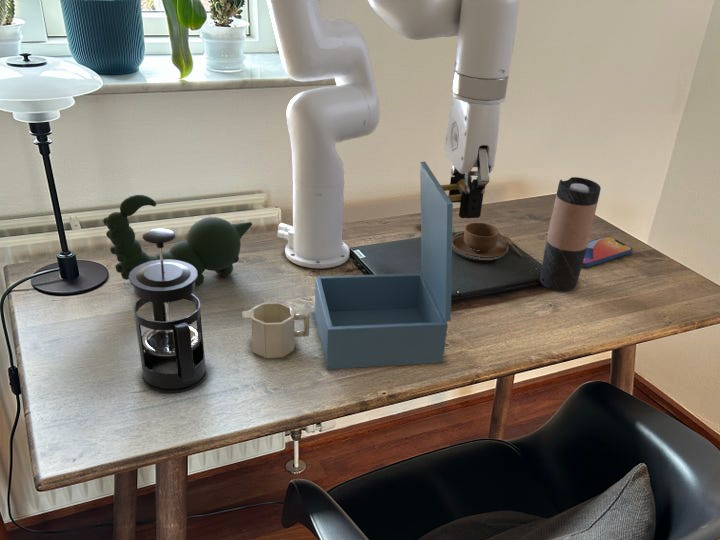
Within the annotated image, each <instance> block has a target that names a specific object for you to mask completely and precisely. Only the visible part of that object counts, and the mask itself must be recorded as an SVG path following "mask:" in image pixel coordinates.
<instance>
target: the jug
mask: <svg viewBox="0 0 720 540" xmlns="http://www.w3.org/2000/svg"><path fill="white" fill-rule="evenodd" d="M242 320H243V321H245V320H246V321H247V320H248V321H249V320H250V333H251V335H250V337H251V338H250V339H251V350H252V353H253V354H256V355H258V356H260V357H262V358H264V359H265V358H266V359H275V358H277V359H279V358H284V357H286V356H288V355H289V354H290V353H292V352H293V351H295V338H301V337H302V338H304V337H309V336H310V315H309V314H308V313H295V312H294V308H293V307H291V306H289V305H288V304H285V303H282V302H279V301H273V302H271V301H270V302H261V303H259V304H257V305H256V306H254V307H252V308H251V309H250V310H242ZM295 321H303V324H302V325H303V326H302V327H303V330H295Z"/></svg>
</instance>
